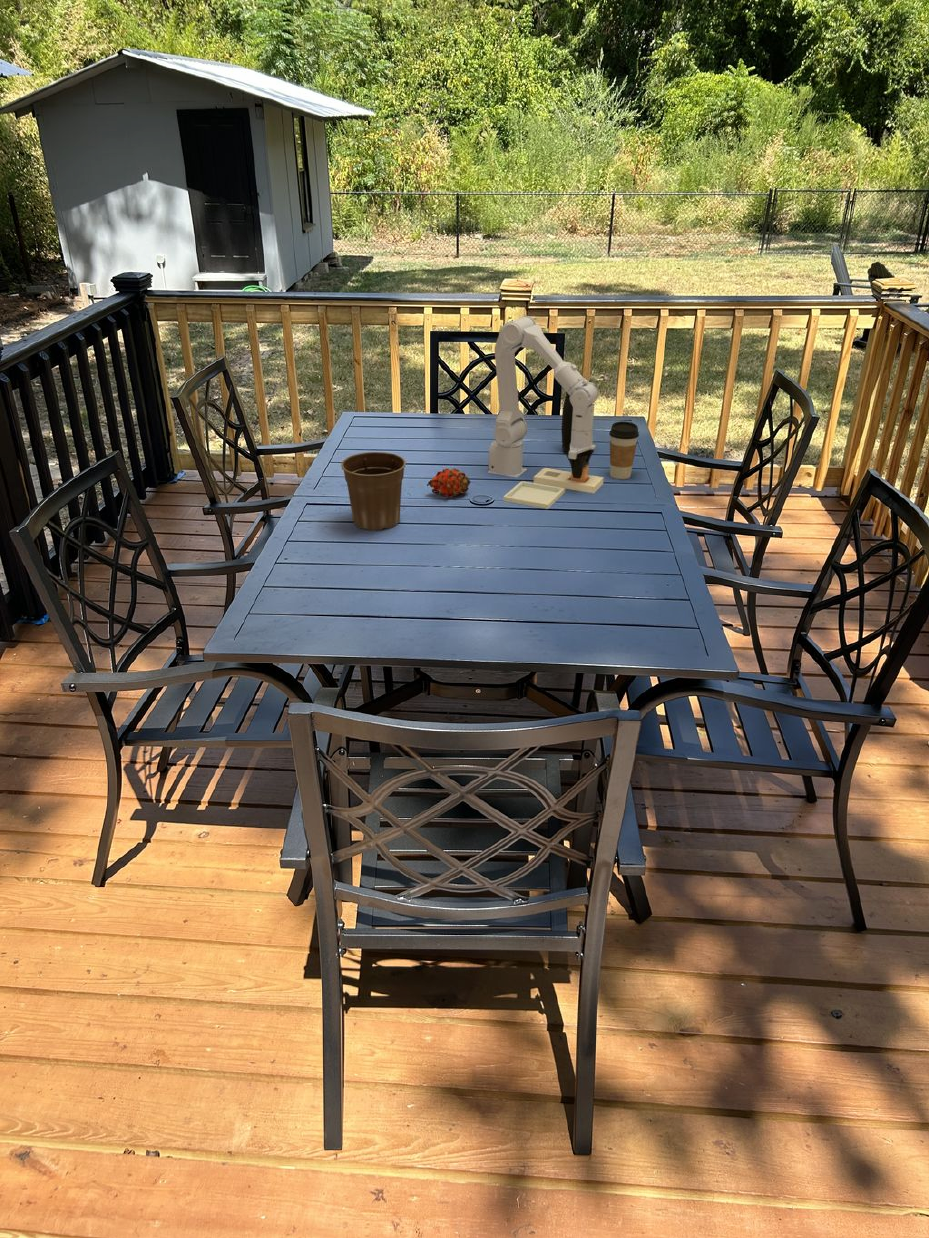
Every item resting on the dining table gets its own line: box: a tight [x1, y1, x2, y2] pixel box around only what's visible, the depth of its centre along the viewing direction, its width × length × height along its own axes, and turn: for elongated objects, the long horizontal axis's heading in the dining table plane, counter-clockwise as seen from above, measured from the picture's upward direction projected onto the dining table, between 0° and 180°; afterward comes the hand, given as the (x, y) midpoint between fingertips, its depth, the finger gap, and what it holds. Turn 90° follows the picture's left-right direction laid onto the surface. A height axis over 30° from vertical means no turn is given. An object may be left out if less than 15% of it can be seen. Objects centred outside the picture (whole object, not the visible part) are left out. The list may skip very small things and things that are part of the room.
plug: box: [570, 461, 590, 483], centre depth 254 cm, size 4×3×6 cm
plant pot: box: [340, 451, 407, 531], centre depth 231 cm, size 16×16×16 cm
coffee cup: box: [608, 420, 640, 480], centre depth 260 cm, size 8×8×15 cm
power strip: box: [533, 467, 604, 494], centre depth 257 cm, size 18×8×3 cm, turn 64°
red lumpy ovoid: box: [426, 467, 471, 499], centre depth 249 cm, size 8×8×12 cm
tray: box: [502, 480, 566, 510], centre depth 248 cm, size 13×13×2 cm
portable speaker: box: [561, 391, 573, 455], centre depth 277 cm, size 9×9×20 cm
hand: (579, 475), depth 255 cm, fingers closed on plug, 3 cm apart
